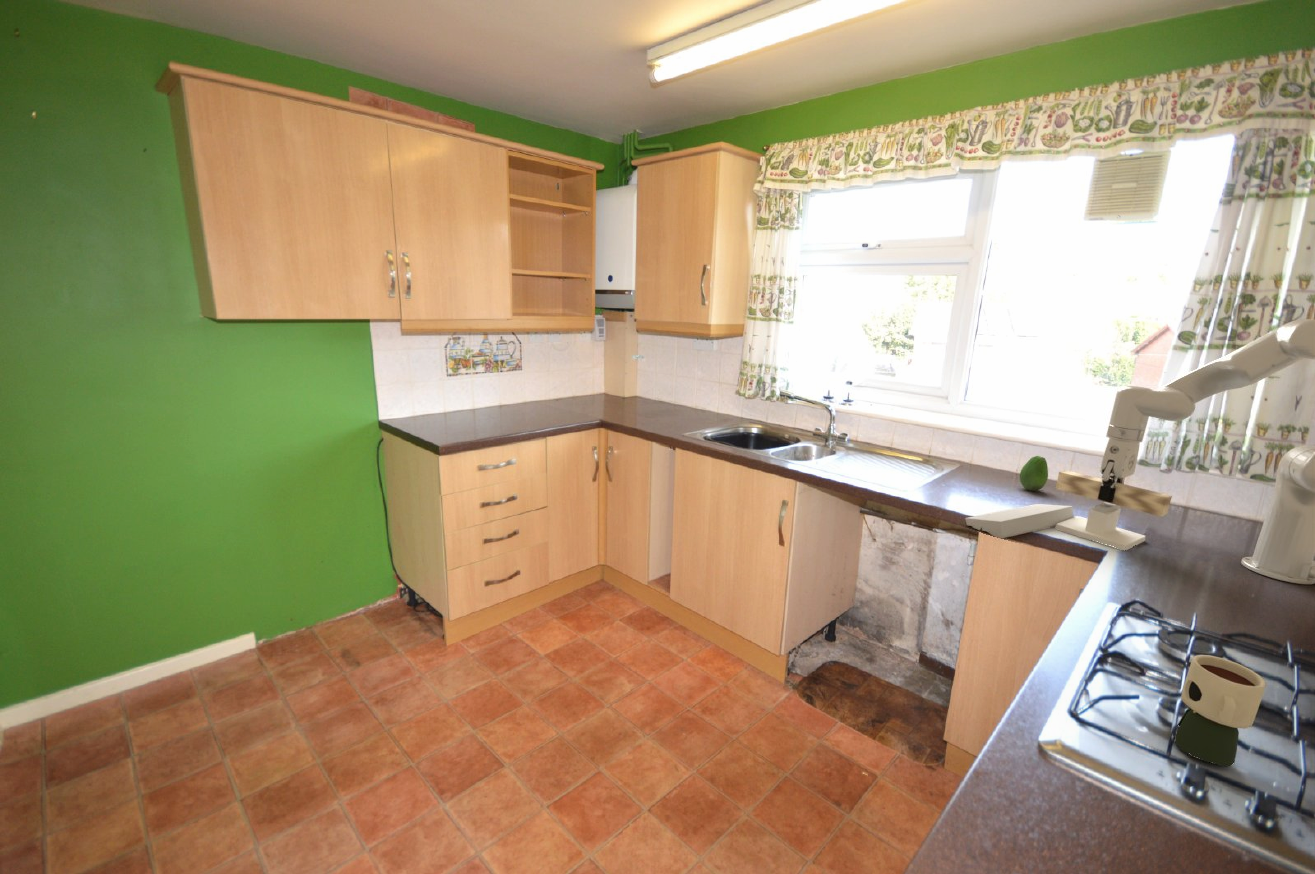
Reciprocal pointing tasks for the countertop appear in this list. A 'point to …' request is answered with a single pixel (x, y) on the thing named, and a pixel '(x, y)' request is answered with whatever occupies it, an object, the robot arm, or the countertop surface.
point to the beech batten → (1123, 494)
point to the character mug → (1217, 708)
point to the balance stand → (1102, 527)
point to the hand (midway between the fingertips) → (1108, 498)
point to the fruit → (1034, 474)
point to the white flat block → (1021, 519)
